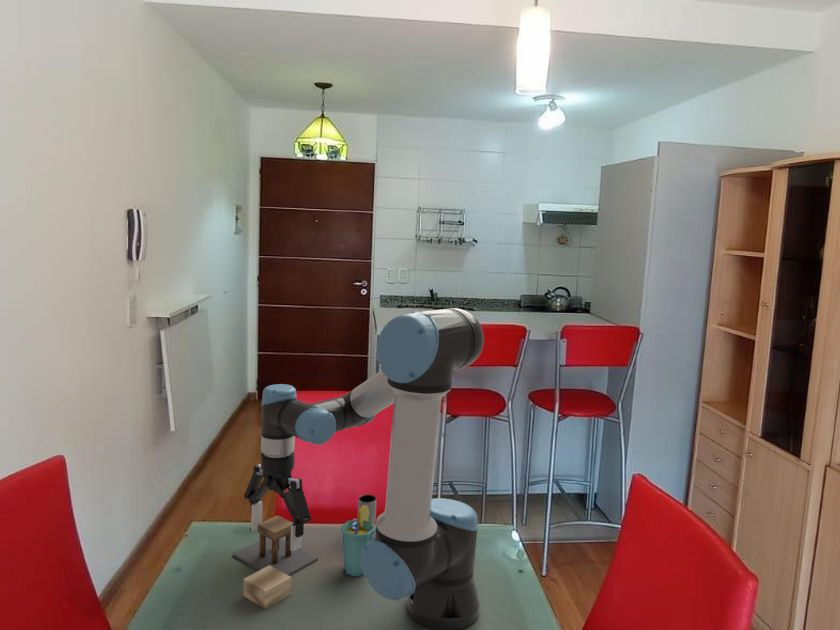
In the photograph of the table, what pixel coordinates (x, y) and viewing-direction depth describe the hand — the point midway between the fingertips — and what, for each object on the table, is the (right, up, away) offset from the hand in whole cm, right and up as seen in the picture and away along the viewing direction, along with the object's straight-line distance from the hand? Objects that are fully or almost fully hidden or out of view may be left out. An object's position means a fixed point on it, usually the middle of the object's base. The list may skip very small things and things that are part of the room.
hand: (275, 538), depth 150 cm
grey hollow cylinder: (+20, -4, +13) cm, 24 cm away
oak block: (+1, -7, -14) cm, 16 cm away
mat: (0, -5, +1) cm, 5 cm away
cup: (+19, -7, -3) cm, 20 cm away
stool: (0, -4, +1) cm, 4 cm away
